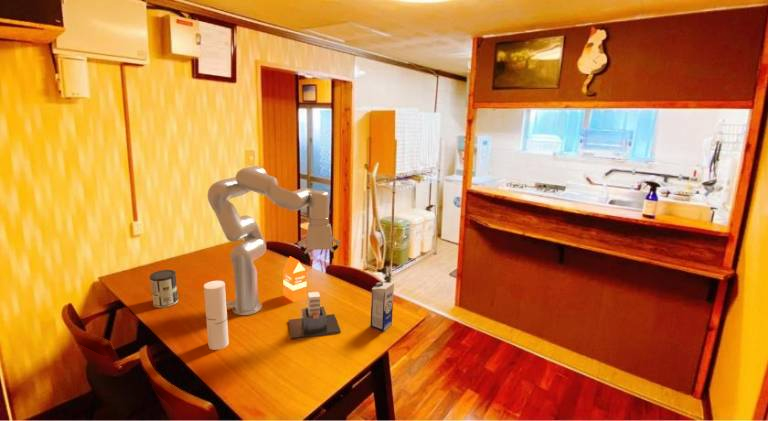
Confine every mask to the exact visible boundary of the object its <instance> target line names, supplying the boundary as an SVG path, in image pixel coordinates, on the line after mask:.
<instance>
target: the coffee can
mask: <svg viewBox="0 0 768 421" xmlns="http://www.w3.org/2000/svg"><path fill="white" fill-rule="evenodd" d="M149 281H150V291H151V295H152V296H151V297H152V305H153V307H155V308H159V309H160V308H167V307H171V306H174V305H175V304H177V303H178V302H179V297H178V296H179V295H178V286H177V277H176V271H175V270H172V269H163V270H158V271H154V272H152V273H151V274H150V275H149Z"/></svg>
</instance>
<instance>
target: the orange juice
mask: <svg viewBox="0 0 768 421" xmlns="http://www.w3.org/2000/svg"><path fill="white" fill-rule="evenodd" d="M282 272H283V274H282V275H283V276H282V278H283V282H282V284H283V297H285V298H286V299H288V300H290V301H291V302H292V303H295V302H297V301H300V300H304V299H308V293H307V290H308V289H307V269H305V267H304V265H303V264H302V263H301V262H300V260H299V259H296V258H294V257H292V256H290V255H289V257H288V259H287V261H286V263H285V264H284V266H283V269H282Z"/></svg>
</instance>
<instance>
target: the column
mask: <svg viewBox="0 0 768 421" xmlns="http://www.w3.org/2000/svg"><path fill="white" fill-rule="evenodd" d="M320 307H321V295H320V292H319V291H312V292H308V293H307V308H308V317H312V313H318V314H319V316H320Z"/></svg>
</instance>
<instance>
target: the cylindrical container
mask: <svg viewBox="0 0 768 421" xmlns="http://www.w3.org/2000/svg"><path fill="white" fill-rule="evenodd" d="M203 295H204V306H205V319H206V330H207V344H208V348H209V349H210V350H214V351H218V350H223V349H225V348H226V347H228V345H229V340H230V339H229V327H228V326H229V325H228V312H227V306H226V302H227V296H226V283H225V281H223V280H212V281H208V282H206V283H204V284H203Z"/></svg>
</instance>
